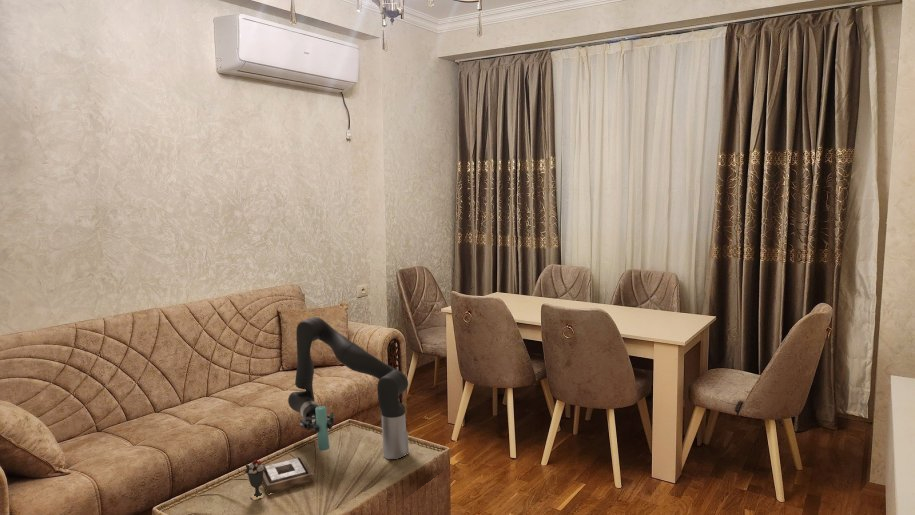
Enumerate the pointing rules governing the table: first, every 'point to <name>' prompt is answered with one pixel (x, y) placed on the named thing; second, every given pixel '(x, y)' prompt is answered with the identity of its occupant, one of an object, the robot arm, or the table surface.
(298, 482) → the box
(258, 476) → the sundae
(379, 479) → the table surface
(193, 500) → the table surface
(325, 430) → the peg
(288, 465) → the plate
